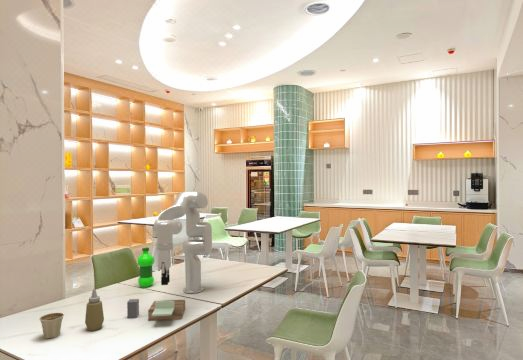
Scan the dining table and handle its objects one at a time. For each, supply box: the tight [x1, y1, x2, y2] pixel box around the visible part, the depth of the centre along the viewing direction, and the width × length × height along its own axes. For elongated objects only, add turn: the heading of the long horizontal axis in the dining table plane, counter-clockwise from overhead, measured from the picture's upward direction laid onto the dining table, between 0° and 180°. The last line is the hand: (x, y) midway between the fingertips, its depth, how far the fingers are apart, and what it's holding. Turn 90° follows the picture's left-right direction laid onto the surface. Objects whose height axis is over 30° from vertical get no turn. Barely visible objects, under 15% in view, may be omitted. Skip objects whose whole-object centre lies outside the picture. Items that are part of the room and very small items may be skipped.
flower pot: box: [39, 312, 65, 339], centre depth 156 cm, size 9×9×9 cm
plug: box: [126, 298, 140, 319], centre depth 178 cm, size 4×4×8 cm
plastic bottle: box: [136, 246, 155, 288], centre depth 230 cm, size 10×10×25 cm
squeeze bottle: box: [84, 288, 105, 331], centre depth 164 cm, size 8×8×18 cm
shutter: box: [152, 300, 174, 316], centre depth 169 cm, size 9×9×4 cm
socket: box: [147, 299, 186, 322], centre depth 179 cm, size 14×16×5 cm
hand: (165, 283), depth 175 cm, fingers open, 3 cm apart
